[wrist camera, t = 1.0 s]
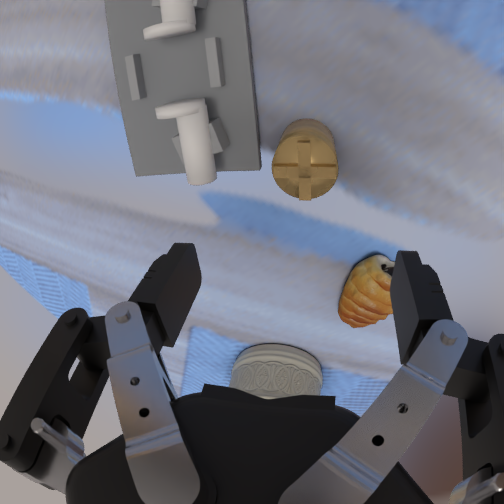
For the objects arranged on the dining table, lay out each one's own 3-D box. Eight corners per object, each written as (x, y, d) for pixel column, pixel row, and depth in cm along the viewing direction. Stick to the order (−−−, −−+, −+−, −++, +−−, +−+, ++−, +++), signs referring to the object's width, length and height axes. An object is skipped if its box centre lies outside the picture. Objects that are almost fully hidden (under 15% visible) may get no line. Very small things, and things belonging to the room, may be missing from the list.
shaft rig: (109, -10, 18) (74, -13, 14) (240, -45, 16) (222, -64, 12) (140, 172, 29) (114, 195, 25) (261, 166, 27) (250, 190, 23)
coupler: (279, 118, 24) (268, 140, 19) (333, 118, 23) (339, 140, 18) (282, 168, 27) (272, 202, 22) (333, 168, 26) (337, 203, 21)
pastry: (371, 323, 36) (373, 347, 33) (322, 304, 36) (321, 329, 32) (417, 268, 30) (425, 292, 27) (365, 243, 30) (369, 267, 27)
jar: (255, 328, 40) (221, 459, 26) (341, 361, 41) (333, 483, 27) (223, 372, 48) (192, 474, 34) (296, 397, 49) (280, 496, 35)
